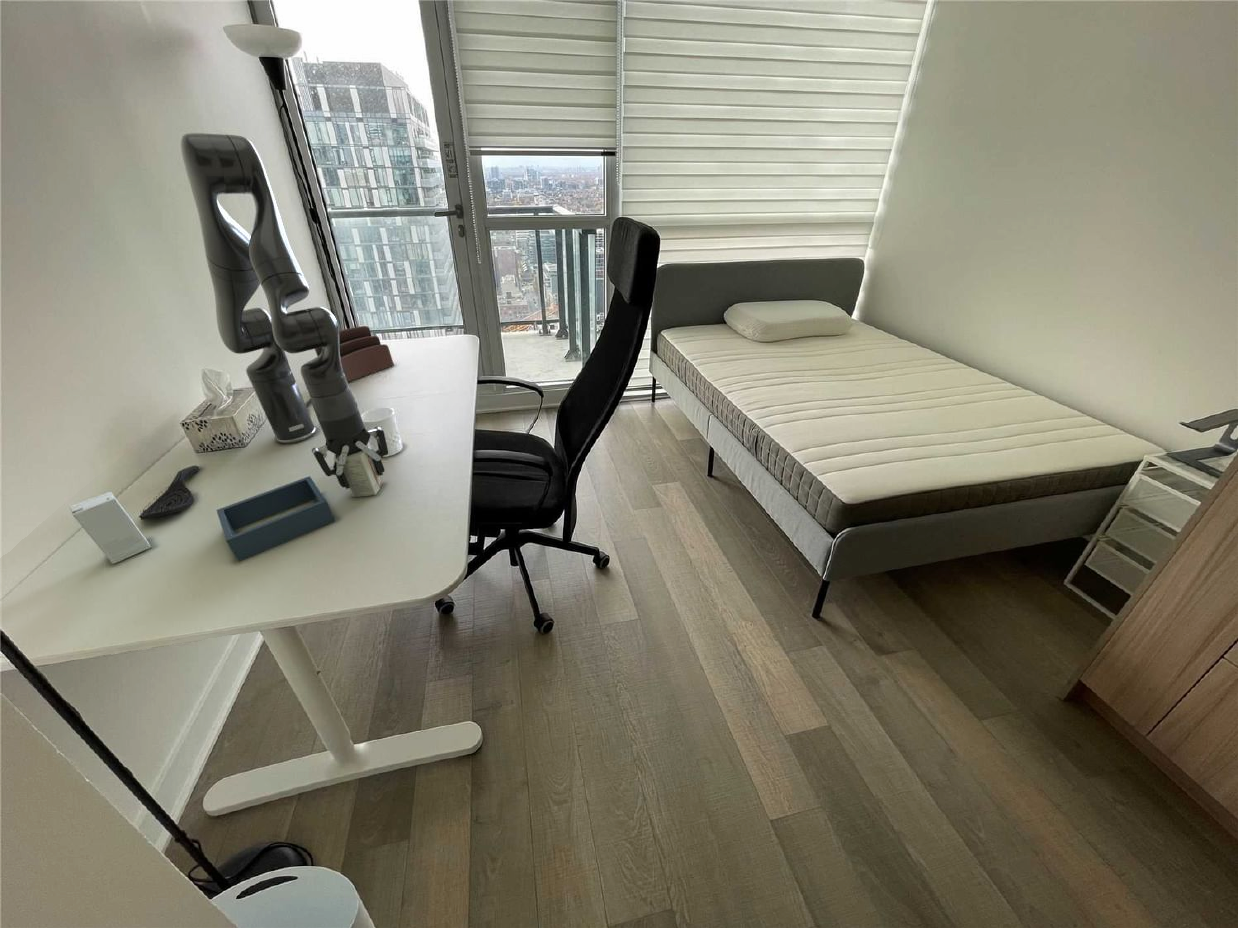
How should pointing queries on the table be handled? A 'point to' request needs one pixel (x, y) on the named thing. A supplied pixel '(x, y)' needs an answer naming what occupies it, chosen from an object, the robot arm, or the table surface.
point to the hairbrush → (172, 496)
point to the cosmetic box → (110, 527)
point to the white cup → (383, 428)
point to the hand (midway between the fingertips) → (363, 480)
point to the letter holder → (361, 353)
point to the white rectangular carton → (361, 474)
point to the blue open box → (276, 528)
